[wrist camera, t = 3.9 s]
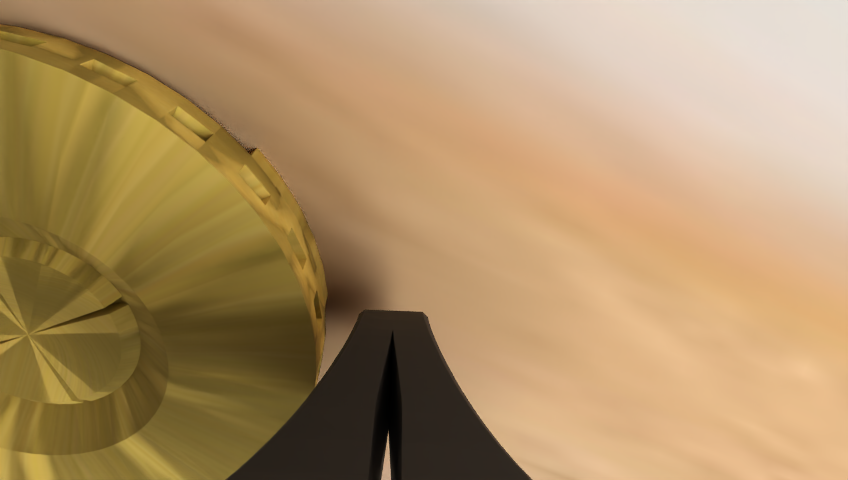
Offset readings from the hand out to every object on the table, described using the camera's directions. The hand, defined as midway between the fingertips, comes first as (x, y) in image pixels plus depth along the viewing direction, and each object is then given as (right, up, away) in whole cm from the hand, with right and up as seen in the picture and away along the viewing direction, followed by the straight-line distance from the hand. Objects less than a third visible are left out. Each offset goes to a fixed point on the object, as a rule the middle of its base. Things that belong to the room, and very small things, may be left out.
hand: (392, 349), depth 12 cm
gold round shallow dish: (-8, +1, +1) cm, 8 cm away
